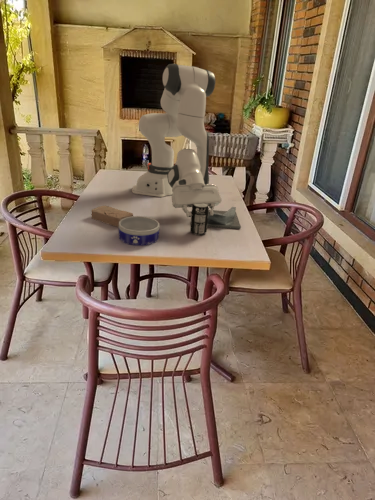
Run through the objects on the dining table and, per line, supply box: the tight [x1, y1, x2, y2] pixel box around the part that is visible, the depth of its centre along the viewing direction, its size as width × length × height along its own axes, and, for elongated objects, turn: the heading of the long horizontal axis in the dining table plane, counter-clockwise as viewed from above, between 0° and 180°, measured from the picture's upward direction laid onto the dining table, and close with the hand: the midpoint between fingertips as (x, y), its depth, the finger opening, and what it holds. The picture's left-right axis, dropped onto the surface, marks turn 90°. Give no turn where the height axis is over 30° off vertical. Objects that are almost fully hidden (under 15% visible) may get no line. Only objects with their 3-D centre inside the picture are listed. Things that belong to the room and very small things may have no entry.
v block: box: [207, 206, 242, 230], centre depth 166 cm, size 18×20×5 cm
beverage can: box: [189, 203, 210, 236], centre depth 150 cm, size 7×7×12 cm
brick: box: [90, 205, 134, 228], centre depth 157 cm, size 17×8×5 cm, turn 58°
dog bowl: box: [118, 215, 161, 247], centre depth 143 cm, size 15×15×6 cm
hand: (200, 215), depth 149 cm, fingers open, 8 cm apart
